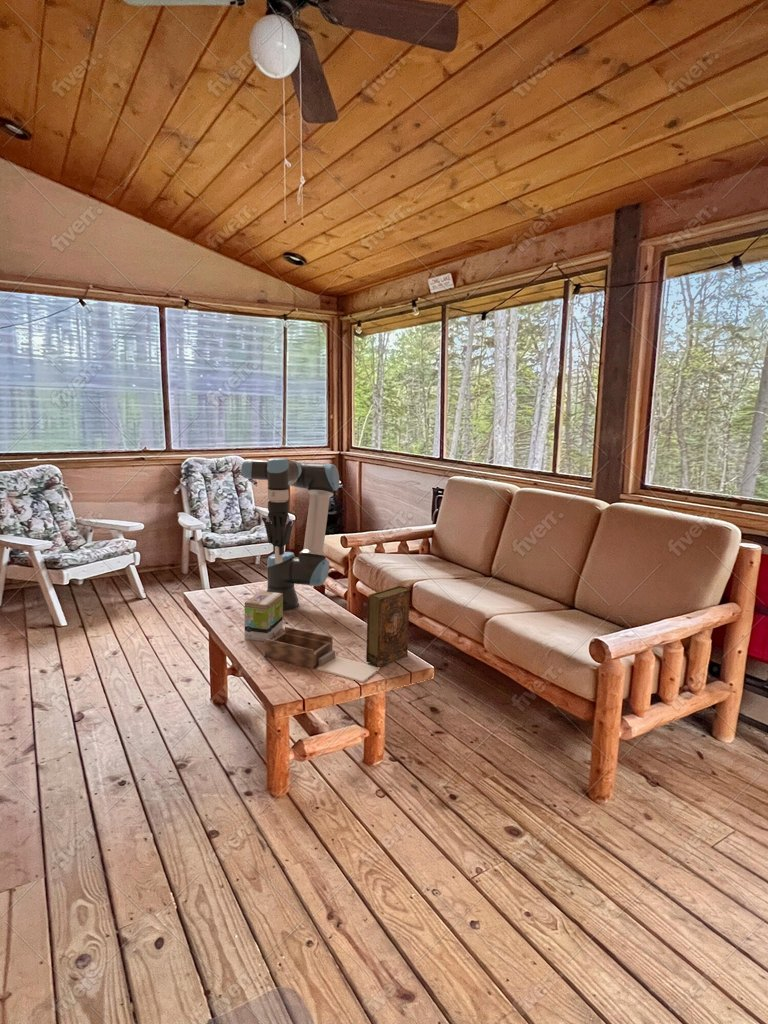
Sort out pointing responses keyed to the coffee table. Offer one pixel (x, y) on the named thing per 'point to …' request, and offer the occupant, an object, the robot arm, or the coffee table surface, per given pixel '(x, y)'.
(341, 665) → the cover plate
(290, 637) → the walnut box
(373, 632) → the book
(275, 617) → the tea box
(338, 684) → the coffee table surface
